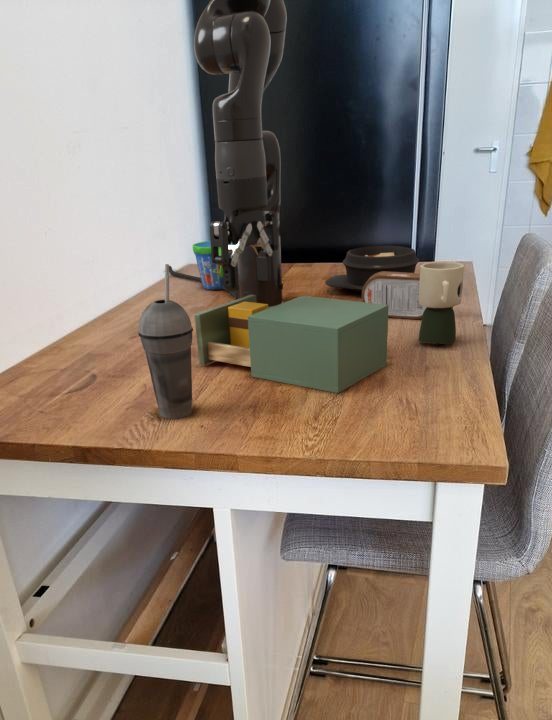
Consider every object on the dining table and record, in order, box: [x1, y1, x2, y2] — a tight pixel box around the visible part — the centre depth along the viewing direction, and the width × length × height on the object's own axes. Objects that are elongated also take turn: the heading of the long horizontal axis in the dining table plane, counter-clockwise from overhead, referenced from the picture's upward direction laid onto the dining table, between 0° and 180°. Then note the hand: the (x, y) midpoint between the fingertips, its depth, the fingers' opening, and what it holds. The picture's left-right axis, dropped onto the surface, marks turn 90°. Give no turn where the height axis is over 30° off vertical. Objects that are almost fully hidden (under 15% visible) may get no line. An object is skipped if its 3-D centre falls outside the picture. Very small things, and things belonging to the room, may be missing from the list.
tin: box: [361, 271, 427, 320], centre depth 137 cm, size 15×3×8 cm, turn 65°
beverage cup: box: [137, 263, 194, 420], centre depth 95 cm, size 7×7×20 cm
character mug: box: [418, 261, 465, 347], centre depth 119 cm, size 11×7×13 cm, turn 179°
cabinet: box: [248, 295, 389, 394], centre depth 110 cm, size 16×15×10 cm
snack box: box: [228, 301, 268, 348], centre depth 117 cm, size 5×4×7 cm
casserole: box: [324, 245, 420, 294], centre depth 159 cm, size 25×19×8 cm
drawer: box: [194, 295, 257, 368], centre depth 117 cm, size 17×15×8 cm
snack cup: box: [192, 240, 233, 291], centre depth 169 cm, size 16×10×10 cm
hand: (248, 285), depth 114 cm, fingers open, 8 cm apart
